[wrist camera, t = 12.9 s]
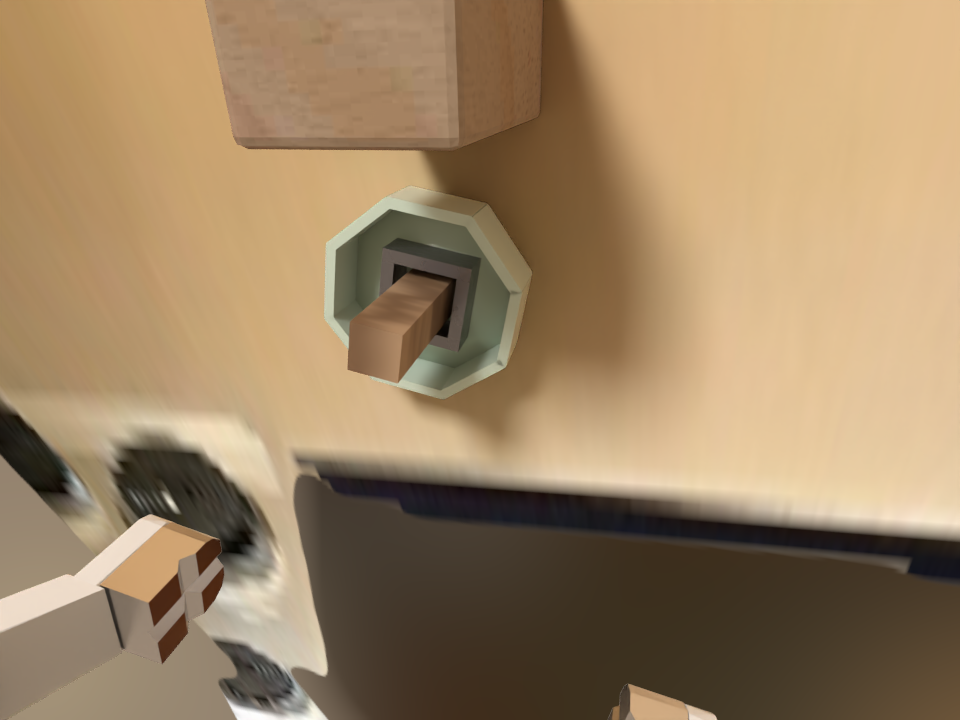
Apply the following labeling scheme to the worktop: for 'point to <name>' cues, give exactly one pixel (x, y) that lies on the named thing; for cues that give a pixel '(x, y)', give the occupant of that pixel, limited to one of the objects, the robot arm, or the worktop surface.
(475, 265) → the square frame
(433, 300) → the wooden rectangular beam
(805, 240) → the worktop surface
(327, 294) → the octagonal green tray
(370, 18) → the wooden block
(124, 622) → the robot arm
